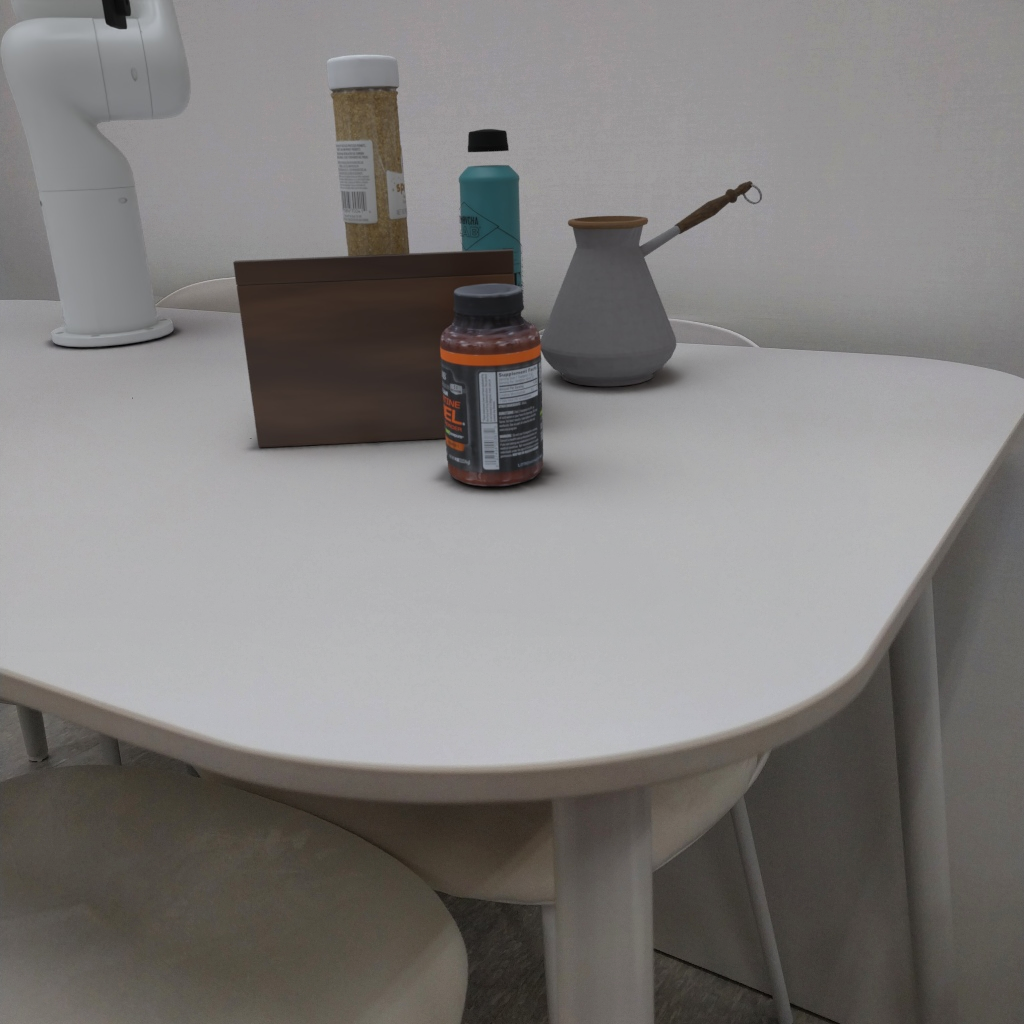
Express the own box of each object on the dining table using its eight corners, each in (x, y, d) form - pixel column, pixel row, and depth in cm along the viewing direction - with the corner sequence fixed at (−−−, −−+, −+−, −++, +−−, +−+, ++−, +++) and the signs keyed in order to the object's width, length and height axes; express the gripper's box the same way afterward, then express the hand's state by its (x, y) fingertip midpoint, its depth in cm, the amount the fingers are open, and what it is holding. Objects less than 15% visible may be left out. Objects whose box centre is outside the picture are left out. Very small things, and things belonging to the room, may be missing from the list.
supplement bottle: (434, 467, 61) (422, 286, 57) (520, 453, 63) (514, 277, 59) (468, 496, 56) (457, 299, 52) (560, 480, 58) (557, 289, 54)
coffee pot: (588, 400, 75) (587, 197, 70) (515, 373, 84) (509, 192, 79) (792, 362, 85) (805, 182, 79) (706, 342, 94) (712, 179, 89)
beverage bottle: (488, 320, 109) (480, 129, 101) (537, 325, 105) (532, 127, 98) (451, 330, 104) (440, 130, 97) (501, 336, 100) (493, 128, 93)
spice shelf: (293, 390, 81) (274, 237, 77) (506, 380, 82) (501, 227, 78) (258, 448, 66) (232, 261, 62) (519, 434, 67) (513, 249, 63)
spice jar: (424, 269, 66) (409, 53, 62) (363, 276, 64) (343, 53, 59) (393, 264, 70) (377, 59, 65) (335, 270, 68) (314, 59, 63)
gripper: (143, -227, 72) (179, 30, 78) (-98, -224, 71) (-41, 36, 77) (111, -265, 65) (154, 21, 71) (-157, -262, 64) (-89, 28, 70)
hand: (52, 29), depth 74 cm, fingers open, 9 cm apart
